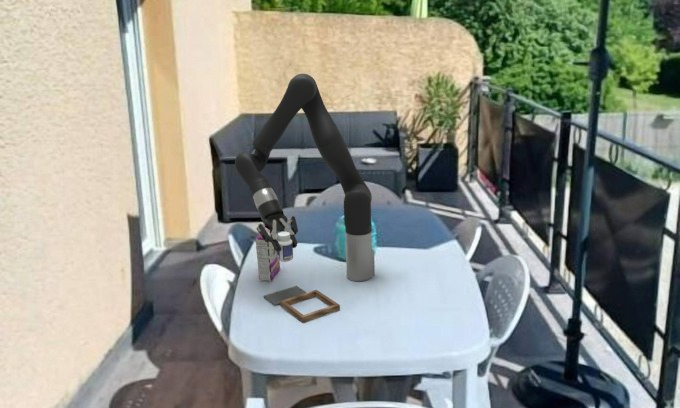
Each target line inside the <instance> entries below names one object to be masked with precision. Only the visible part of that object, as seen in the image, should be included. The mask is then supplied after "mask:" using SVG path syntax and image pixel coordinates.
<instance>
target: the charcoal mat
mask: <svg viewBox="0 0 680 408" xmlns="http://www.w3.org/2000/svg"><path fill="white" fill-rule="evenodd" d="M304 293H307V291H305V290H303V289H302V288H301V287H299V286H298V285H294V286H291V287H288V288H285V289H282V290H278V291H275V292H272V293H268V294H266V295H265V294H264V295H262V296H263V297H264V298H263V299H265V300H266V301H267V302H268V303H270V304H271V305H273V306H274V307H276V306H277V307H278V306H279V305H280V301H282V300H285V299H289V298H292V297H295V296H298V295H301V294H304Z"/></svg>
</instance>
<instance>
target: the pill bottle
mask: <svg viewBox="0 0 680 408" xmlns="http://www.w3.org/2000/svg"><path fill="white" fill-rule="evenodd" d="M277 235H278V242H279V245H280V247H281V251H280V252H277V259H278V260H279V261H280V262H281V263H286V262H292V260H293V259H294V248H293V243H292V240H291V239H290V233H289V232H282V231H281V232H277Z"/></svg>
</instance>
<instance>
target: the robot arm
mask: <svg viewBox="0 0 680 408" xmlns="http://www.w3.org/2000/svg"><path fill="white" fill-rule="evenodd" d="M300 110H302V111H303V114H304V115H305V117H306V119H307V121H308V122H307V123H308V126H309V128H310V133H311V136H312V138H313V141H314V144H315V146H316V148H317V150H318V152H319V154H320V156H321V158H322V159H323V161H324V162H325V164H326V165H327V166H328V168H329V169H330V170H331V171H332V172H333V174H335V176H336V177H337V179H338V182H339V183H340V186H341V188H342V191H343V193H344V198H343V220H344V221H343V222H344V228H345V229H344V231H345V234H344V235H345V254H346V255H345V263H346V264H345V266H346V267H345V269H346V277H347V279H348V280H350V281H354V282H364V281H368V280H370V279H372V277H373V276H374V277H375V274H376V273H375V272H376V271H375V267H376V266H375V262H376V261H375V250H374V249H373V240H372V239H373V234H372V233H373V231H372V229H373V227H372V226H373V225H372V197H373V196H372V192H371V190H370V188H369V187H368V185H367V184H366V182H365V181H364V179H363V178H362V176H361V175H360V173H359V171H358V169H357V167H356V165H355V163H354V162H355V161H354V160H353V158H352V155H351V153H350V151H349V148H348V146H347V144H346V141H345V140H344V138H343V135H342V133H341V132H340V130H339V129H338V126H337V124H336V122H335V121H334V119H333V117H332V116H331V114H330V113H329V110H328V109H327V108H326V105H325V103H324V101H323V97H322V96H321V92H320V90H319V87H318V85H317V82H316V80H315V78H313V77H312V75H310V74H307V73H299V74H296V75H295V76H293V77H292V78H291V79H290V81H289V82H288V84H287V88H286V90H285V92H284V94H283V96H282V98H281V100H280V102H279V104H278V105H277V107H276V108H275V110H274V111H273V113H272V114H271V115H270V117H268V119H267V120H266V122H265V123H264V124H263V126H262V127H261V129H260V130H259V131H258V133H257V134H256V136H255V137H254V138H253V141H252V146H253V147H254V149H255V150H254V152H253V153H251V152H247V151H245V152H243V151H242V152H239V153H238V154H237V155H236V157H235V159H234V160H235V161H234V166H235V169H236V171H237V173H238V174H239V177H241V178H242V180H243V182H244V183H245V185H247V186H248V189H249V191H250V194H251V196H252V198H253V201H254V204H255V207H256V209H257V212H258V213H259V216H260V218H261V221H262V223H259V224H258V225H257V227H256V231H257V232H258V234H260V235H261V236H262V238H263V239H264V241H265V242H271V243H272V245H273V247H274V249H275V251H277V252H280V251H281V247H280V245H279V242H278V240H276V233H277V234H278V233H280V232H289V233H290V239H291V240H292V243H293V249H296V248H297V246H298V240H297V238H296V235H297V233H298V232H299V229H298V228H299V227H298V224H297V220H296V216H294V215H292V216H291V217H287V216H286V215H285V213H284V209H283V207H282V205H281V203H280V201H279V199H278V196H277V194H276V193H275V191H274V189H273V187H272V185H271V183H270V180H269V179H268V177H267V176H266V175H265V174H263V173H261V172H263V171H264V169H265V167H266V165H267V164H268V161H269V158H270V156H271V152H272V151H273V149H274V148H275V147H276V145H277V143H279V141H280V139H281V138H282V136H283V135H284V133H285V132H286V130H287V128H288V127H289V125H290V123H291V122H292V120H293V119H294V118H295V116H297V114H298V113H299V111H300ZM265 228H267V229H268V230H269V231H270V236H269V234H268V233H267V231H266V230H265Z"/></svg>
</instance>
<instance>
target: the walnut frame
mask: <svg viewBox="0 0 680 408" xmlns="http://www.w3.org/2000/svg"><path fill="white" fill-rule="evenodd" d="M306 292H307V291H306ZM312 298H316V299H319V300H320V301H322V302H323V303H325V304H326V305H327V307H323V308H320V309H317V310H315V311H312V312H308V313H306V314H303V313H302V312H300V311H299V310H297V308H295V307H293V306H292V305H295V304H297V303H301V302H304V301H306V300H309V299H312ZM280 307H281V308H282V309H284V310H285V311H286V312H287V313H289V314H290V315H292V317H294V318H296V319H297V320H298V321H300V322H301V323H303V324H304V323H306V322H309V321H312V320H314V319H317V318H321V317H324V316H327V315H329V314H331V313H334V312H335V313H336V312H338V311H341V305H340V304H339V303H337V302H336V301H335V300H333V299H332V298H330V297H329V296H327V295H326V294H324V293H323V292H321V291H319V290H318V289H314V290H311V291H308V292H307V293H304V294H301V295H298V296H295V297H292V298H289V299H285V300H282V301H280Z"/></svg>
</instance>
